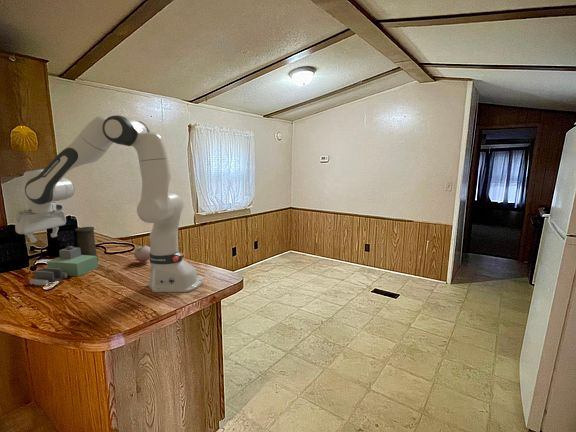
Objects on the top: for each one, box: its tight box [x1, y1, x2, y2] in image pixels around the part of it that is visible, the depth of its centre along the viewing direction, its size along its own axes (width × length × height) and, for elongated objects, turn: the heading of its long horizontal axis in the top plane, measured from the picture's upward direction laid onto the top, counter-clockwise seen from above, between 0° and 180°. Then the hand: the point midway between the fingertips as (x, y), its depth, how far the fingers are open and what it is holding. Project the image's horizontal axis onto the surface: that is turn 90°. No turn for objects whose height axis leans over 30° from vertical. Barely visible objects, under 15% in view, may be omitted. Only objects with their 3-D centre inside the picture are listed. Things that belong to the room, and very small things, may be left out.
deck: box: [29, 245, 99, 286], centre depth 143 cm, size 16×24×11 cm, turn 170°
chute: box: [33, 267, 64, 282], centre depth 137 cm, size 5×9×5 cm, turn 80°
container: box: [74, 226, 99, 261], centre depth 162 cm, size 9×9×18 cm
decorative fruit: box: [133, 243, 151, 263], centre depth 162 cm, size 9×8×10 cm
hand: (44, 239), depth 134 cm, fingers open, 8 cm apart
